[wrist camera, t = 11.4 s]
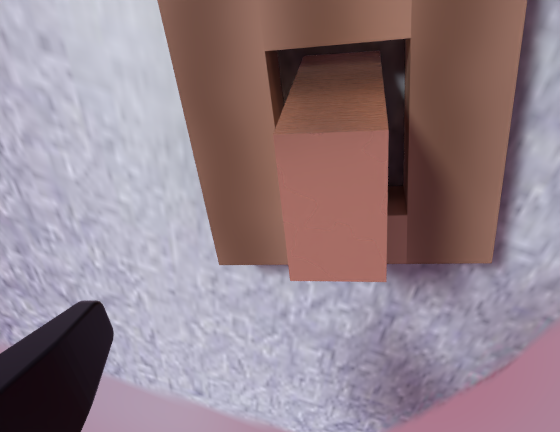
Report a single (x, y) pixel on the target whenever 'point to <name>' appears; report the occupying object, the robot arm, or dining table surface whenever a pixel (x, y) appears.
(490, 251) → the board with rectangular hole
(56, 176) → the dining table surface
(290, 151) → the reddish brown block
